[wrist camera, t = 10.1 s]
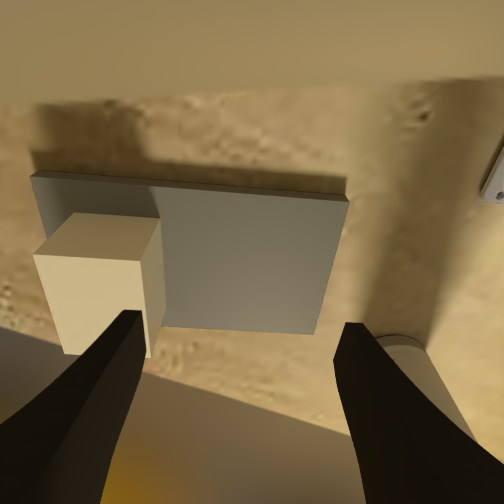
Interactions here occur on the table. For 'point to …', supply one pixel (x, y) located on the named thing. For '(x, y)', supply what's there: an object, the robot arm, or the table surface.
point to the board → (219, 245)
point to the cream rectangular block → (102, 276)
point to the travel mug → (423, 375)
